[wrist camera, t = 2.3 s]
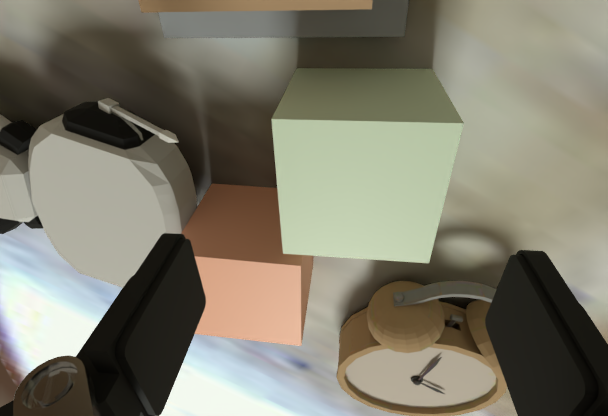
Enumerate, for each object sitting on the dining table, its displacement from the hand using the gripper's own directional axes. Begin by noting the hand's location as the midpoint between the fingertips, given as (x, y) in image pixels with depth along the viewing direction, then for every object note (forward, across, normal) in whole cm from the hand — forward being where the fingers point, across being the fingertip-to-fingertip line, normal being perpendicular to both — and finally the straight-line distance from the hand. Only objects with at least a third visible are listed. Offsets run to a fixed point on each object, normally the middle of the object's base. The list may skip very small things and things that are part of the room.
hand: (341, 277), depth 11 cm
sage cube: (+9, -1, -1) cm, 9 cm away
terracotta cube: (+10, +5, +6) cm, 12 cm away
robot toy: (+10, +15, +2) cm, 18 cm away
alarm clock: (+10, -6, +15) cm, 19 cm away
